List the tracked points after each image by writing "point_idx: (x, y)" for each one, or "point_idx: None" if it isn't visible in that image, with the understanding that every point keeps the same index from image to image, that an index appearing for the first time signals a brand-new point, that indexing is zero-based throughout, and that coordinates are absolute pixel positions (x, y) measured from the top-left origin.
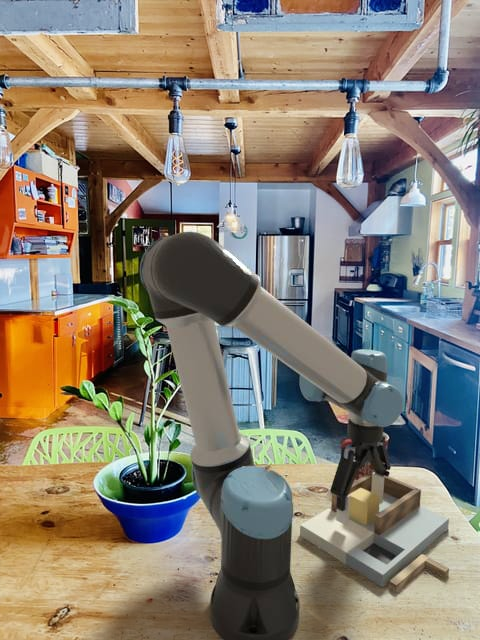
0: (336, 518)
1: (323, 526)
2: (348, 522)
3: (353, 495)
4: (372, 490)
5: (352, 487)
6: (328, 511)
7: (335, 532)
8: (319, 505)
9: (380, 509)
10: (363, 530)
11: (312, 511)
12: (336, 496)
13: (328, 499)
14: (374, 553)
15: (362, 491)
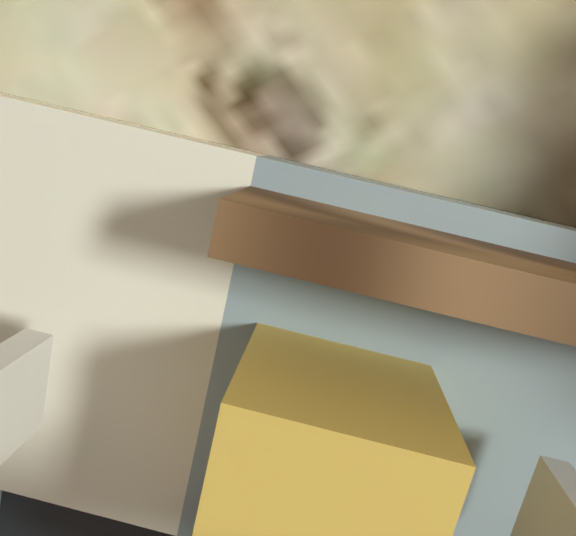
0: (14, 337)
1: (5, 231)
2: (27, 435)
3: (242, 455)
4: (573, 528)
5: (521, 330)
6: (214, 176)
7: (1, 331)
8: (402, 11)
9: (503, 501)
10: (154, 475)
11: (282, 7)
12: (212, 257)
13: (542, 31)
14: (107, 519)
15: (398, 505)
